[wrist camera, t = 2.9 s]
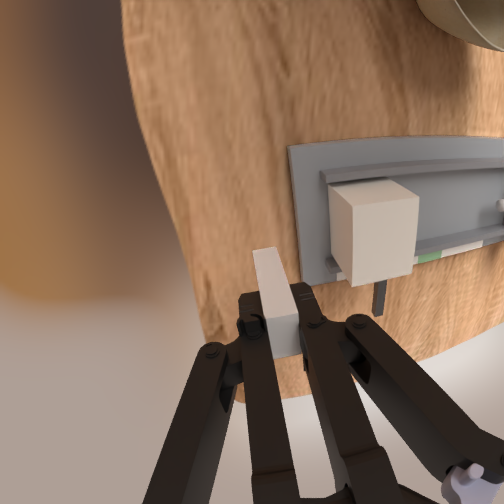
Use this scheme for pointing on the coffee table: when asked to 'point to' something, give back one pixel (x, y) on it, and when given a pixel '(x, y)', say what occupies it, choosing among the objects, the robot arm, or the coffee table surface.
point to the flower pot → (468, 20)
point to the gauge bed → (410, 177)
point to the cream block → (373, 232)
